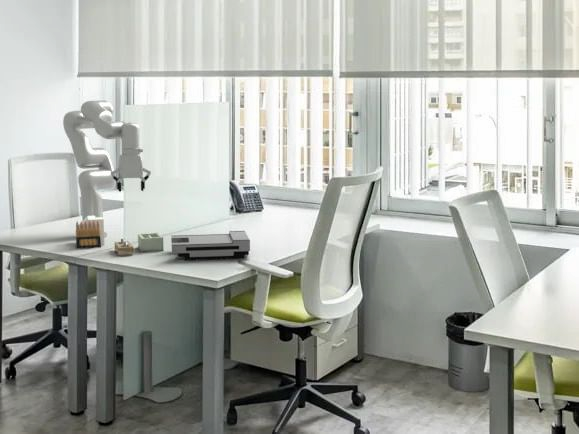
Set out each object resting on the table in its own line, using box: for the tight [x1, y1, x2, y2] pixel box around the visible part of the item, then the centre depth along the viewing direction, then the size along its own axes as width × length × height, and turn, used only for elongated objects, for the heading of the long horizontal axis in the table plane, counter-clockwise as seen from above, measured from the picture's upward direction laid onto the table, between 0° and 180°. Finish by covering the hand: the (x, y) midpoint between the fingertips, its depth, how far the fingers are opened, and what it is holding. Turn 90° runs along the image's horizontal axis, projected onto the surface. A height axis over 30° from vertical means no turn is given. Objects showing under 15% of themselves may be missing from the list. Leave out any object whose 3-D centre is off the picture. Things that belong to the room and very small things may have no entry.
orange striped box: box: [78, 216, 105, 246], centre depth 340 cm, size 11×11×12 cm
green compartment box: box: [137, 232, 164, 253], centre depth 329 cm, size 11×9×6 cm
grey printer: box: [170, 230, 251, 262], centre depth 319 cm, size 21×32×8 cm, turn 99°
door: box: [114, 240, 135, 256], centre depth 323 cm, size 13×6×3 cm, turn 21°
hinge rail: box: [119, 238, 134, 257], centre depth 322 cm, size 13×5×5 cm, turn 22°
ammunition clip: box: [75, 220, 102, 249], centre depth 332 cm, size 11×2×12 cm, turn 105°
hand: (131, 190), depth 328 cm, fingers open, 9 cm apart
